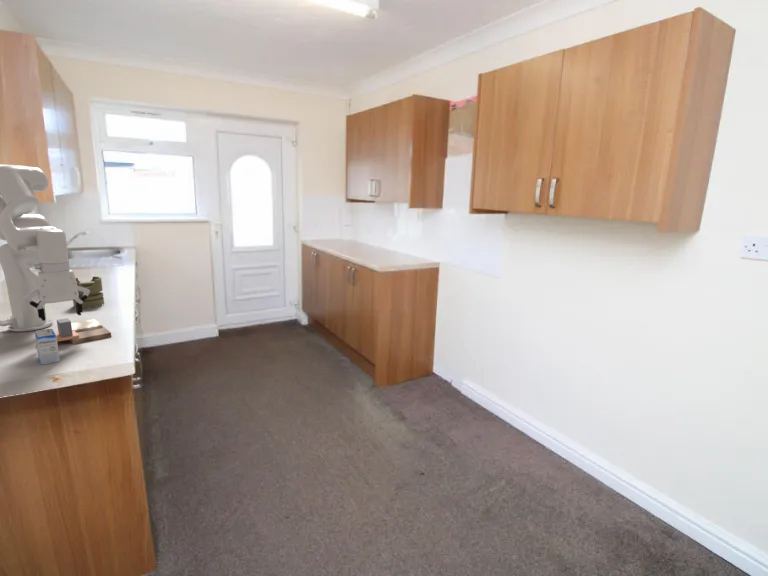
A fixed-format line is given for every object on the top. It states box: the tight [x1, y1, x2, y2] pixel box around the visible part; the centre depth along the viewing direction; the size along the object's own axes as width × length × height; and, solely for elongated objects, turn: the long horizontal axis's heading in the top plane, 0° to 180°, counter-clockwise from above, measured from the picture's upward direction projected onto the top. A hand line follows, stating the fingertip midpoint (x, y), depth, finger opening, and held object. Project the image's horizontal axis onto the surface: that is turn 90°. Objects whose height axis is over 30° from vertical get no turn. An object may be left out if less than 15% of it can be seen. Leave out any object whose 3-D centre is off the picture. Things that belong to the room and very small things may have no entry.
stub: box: [55, 317, 79, 343], centre depth 138 cm, size 10×7×6 cm
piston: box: [72, 276, 105, 309], centre depth 185 cm, size 11×12×11 cm
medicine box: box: [34, 328, 61, 366], centre depth 124 cm, size 8×4×9 cm, turn 45°
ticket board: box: [69, 318, 112, 345], centre depth 149 cm, size 11×20×2 cm, turn 47°
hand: (61, 317), depth 139 cm, fingers open, 9 cm apart
